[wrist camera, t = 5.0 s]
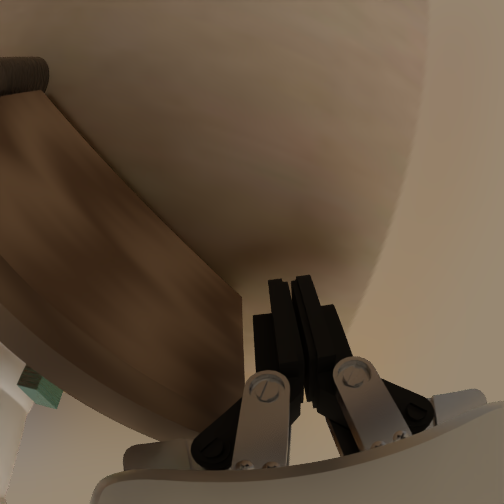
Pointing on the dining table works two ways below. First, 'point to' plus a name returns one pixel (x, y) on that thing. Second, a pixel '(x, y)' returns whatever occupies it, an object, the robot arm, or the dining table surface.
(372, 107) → the dining table surface
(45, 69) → the gate posts
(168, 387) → the gate
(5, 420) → the water bottle
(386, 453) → the robot arm
